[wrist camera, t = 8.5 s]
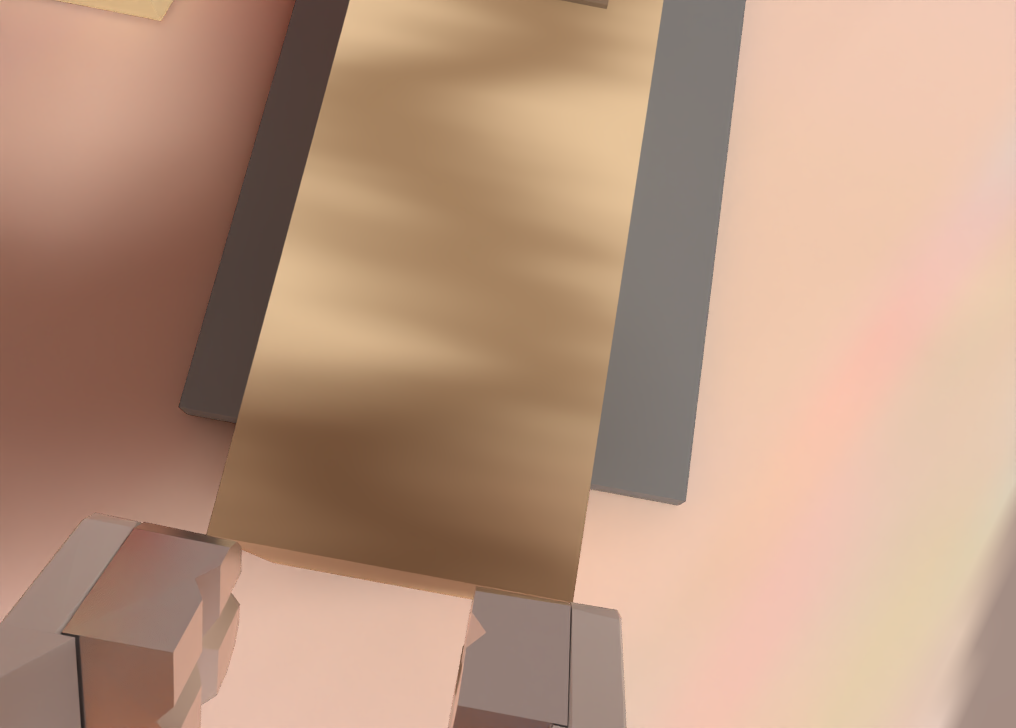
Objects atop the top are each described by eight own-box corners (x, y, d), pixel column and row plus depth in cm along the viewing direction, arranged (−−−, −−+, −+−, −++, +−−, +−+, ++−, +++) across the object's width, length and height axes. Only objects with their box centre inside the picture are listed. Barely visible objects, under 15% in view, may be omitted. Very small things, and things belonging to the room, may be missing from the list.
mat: (186, 414, 18) (178, 406, 18) (344, -137, 22) (341, -158, 22) (678, 505, 19) (685, 501, 18) (746, -60, 23) (755, -78, 22)
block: (204, 533, 12) (427, -298, 17) (273, 563, 17) (432, -85, 22) (573, 602, 12) (701, -244, 17) (538, 611, 17) (643, -45, 22)
